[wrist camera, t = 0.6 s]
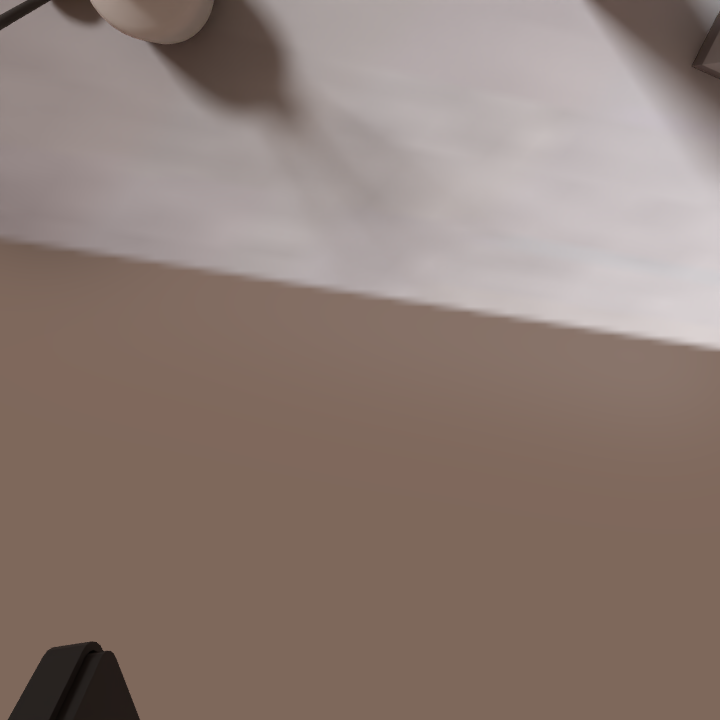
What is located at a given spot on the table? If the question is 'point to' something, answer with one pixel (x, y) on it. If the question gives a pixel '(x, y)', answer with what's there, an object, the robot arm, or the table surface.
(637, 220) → the table surface
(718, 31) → the hole block
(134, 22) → the reed diffuser
